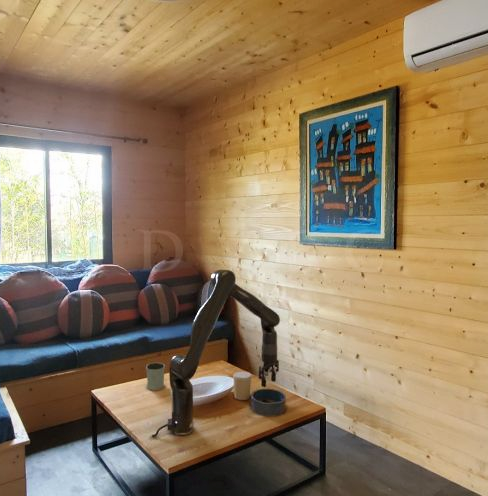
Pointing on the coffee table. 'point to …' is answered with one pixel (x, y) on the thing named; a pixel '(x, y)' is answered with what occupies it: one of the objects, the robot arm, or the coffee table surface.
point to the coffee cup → (242, 385)
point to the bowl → (268, 408)
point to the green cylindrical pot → (155, 376)
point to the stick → (267, 401)
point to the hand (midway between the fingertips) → (268, 383)
